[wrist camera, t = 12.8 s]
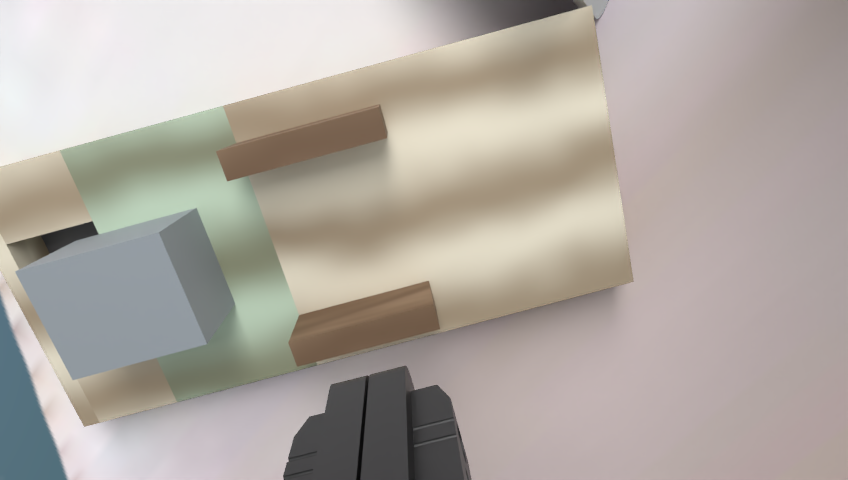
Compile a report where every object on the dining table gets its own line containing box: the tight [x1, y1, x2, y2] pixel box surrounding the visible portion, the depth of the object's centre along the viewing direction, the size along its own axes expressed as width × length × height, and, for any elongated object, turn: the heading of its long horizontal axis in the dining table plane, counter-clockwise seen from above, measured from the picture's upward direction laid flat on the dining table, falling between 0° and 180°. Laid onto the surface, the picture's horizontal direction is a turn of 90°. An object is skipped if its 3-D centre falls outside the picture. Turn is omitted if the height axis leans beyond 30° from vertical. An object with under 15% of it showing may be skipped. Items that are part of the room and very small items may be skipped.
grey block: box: [15, 208, 235, 380], centre depth 28 cm, size 6×7×5 cm
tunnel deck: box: [0, 5, 633, 427], centre depth 30 cm, size 16×35×6 cm, turn 105°
